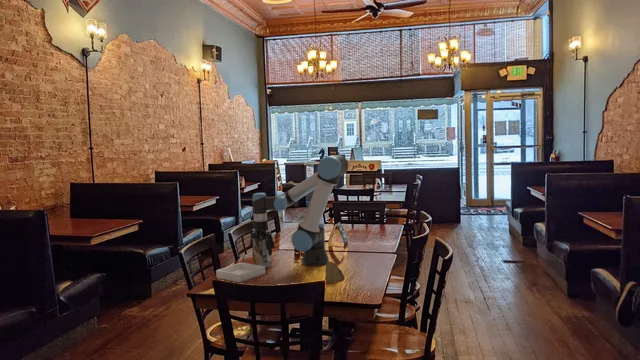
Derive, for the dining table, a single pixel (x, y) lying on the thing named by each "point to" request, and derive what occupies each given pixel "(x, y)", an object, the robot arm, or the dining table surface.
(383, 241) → the dining table surface
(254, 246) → the coffee box
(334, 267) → the rock
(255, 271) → the tray
